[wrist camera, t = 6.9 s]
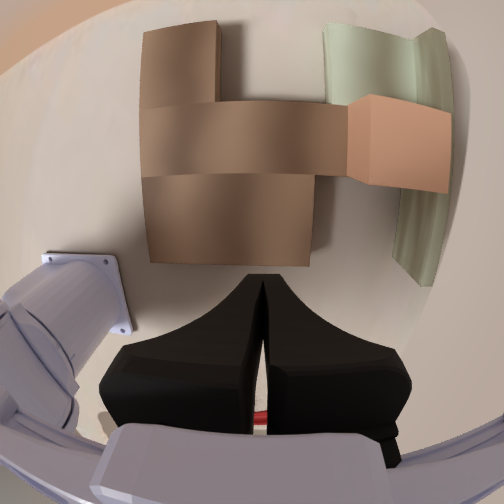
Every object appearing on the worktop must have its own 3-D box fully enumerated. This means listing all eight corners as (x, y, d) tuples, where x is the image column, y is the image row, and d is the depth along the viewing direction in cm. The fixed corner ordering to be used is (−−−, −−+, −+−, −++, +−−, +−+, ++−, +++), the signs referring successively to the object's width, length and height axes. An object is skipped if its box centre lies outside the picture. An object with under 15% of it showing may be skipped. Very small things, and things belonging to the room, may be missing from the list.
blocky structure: (160, 252, 21) (132, 281, 16) (154, 41, 15) (123, 17, 10) (402, 256, 20) (432, 286, 15) (411, 50, 14) (444, 32, 9)
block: (346, 175, 16) (368, 184, 12) (347, 104, 14) (370, 93, 11) (414, 182, 16) (447, 194, 12) (417, 117, 14) (451, 113, 10)
